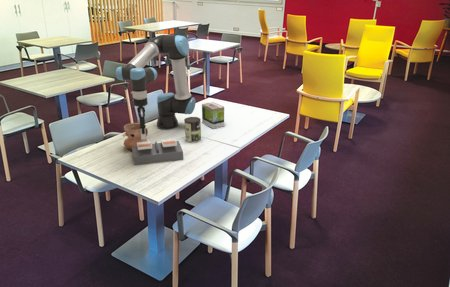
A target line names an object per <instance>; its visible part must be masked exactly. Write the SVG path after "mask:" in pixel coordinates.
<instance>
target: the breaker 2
mask: <svg viewBox="0 0 450 287" xmlns="http://www.w3.org/2000/svg"><path fill="white" fill-rule="evenodd" d="M176 141H177V140H176V139H175V138H168V139H160V143H161V144H162V146H163V147H169V146H177V142H176Z"/></svg>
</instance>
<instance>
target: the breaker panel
mask: <svg viewBox="0 0 450 287" xmlns="http://www.w3.org/2000/svg"><path fill="white" fill-rule="evenodd" d="M175 141H176V142H177V146H169V147H163V146H162V144H161V142H157V141H154V143H152V148H151V149H142V150H138V148H137V145H136V146H132V150H131V151H132V159H133V160H132V161H133V166H138V165H139V166H140V165H148V164H157V163H164V162H166V163H167V162H172V161H180V160H184V152H183V150H184V149H183V148H182V146H181V143H180V141H179V140H175Z"/></svg>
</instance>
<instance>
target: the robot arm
mask: <svg viewBox="0 0 450 287" xmlns="http://www.w3.org/2000/svg"><path fill="white" fill-rule="evenodd" d="M189 53H190V43H189V40H188V39H187V38H186V37H185V36H183V35H179V34H177V35H176V34H175V35H174V34H173V35H172V34H170V35H169V34H160V35H157V36H155V37H153V38H151V39H150V40H148V41H147V42H146V43H145V44H144V47H143V48H142V49H141V50H140V51H139V52H138V53H136V55H135V56H134V57H133V58H132V59H131V60H130V61H129V62H128V63H127V64H126V65H125V66H118V67H116V69H115V76H116V79H117V80H118V81H124V82H125V81H126V82H130V83H131V92H130V94H131V95H132V103H133V106H134V107H137V108H136V110H137V115H138V119H139V123H140V127H139V129H140V131H141V139H147V137H146V130H145V128H147V125H146V121H145V120H146V118H145V117H146V109H145V106H147V105H148V104H149V103H148V91H147V84H150V83H151V82H154V81H155V80H156V79H157V77H158V71H157V70H156V69H155V68H154V67H151V66H149V67H146V65H147V64H148V63H149V62H150V61H151V60H152V59H153V58H154V57H158V56H159V55H167V56H168V60H170V61H171V68H172V74H173V81H174V89H175V94H174V92H165V93H161V94H159V95H158V96H157V97H156V98H157V99H156V104H157V114H158V116H157V120H156V127H157V128H158V129H161V130H172V129H175V128H177V127H178V126H179V121H178V119H177V116H176V114H181V115H191V114H193V112H194V110H195V107H196V98H195V97H192V94H191V92H189V91H190V90H189V84H188V74H187V67H186V66H187V65H186V61H185V60H186V58H187V56H188V55H189ZM144 67H146V68H144Z"/></svg>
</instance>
